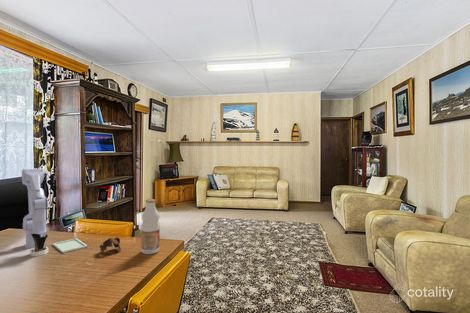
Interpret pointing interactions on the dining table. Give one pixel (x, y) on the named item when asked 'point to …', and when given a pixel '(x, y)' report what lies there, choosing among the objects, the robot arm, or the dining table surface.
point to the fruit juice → (150, 229)
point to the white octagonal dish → (39, 252)
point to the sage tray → (69, 245)
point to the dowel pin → (37, 248)
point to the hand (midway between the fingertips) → (39, 247)
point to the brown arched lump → (109, 244)
